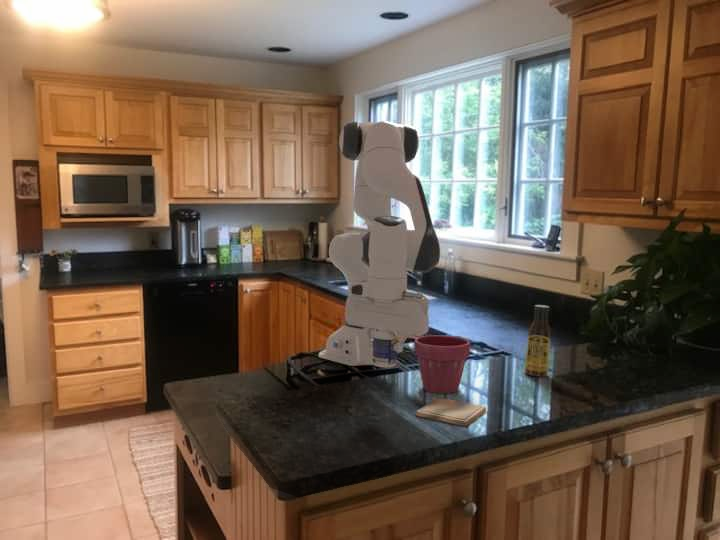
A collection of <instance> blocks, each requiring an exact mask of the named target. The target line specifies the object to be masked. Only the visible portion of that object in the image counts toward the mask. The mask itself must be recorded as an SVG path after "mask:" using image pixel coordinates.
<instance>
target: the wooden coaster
mask: <svg viewBox="0 0 720 540" xmlns="http://www.w3.org/2000/svg"><path fill="white" fill-rule="evenodd" d="M485 412H487V406H484V405H479V404H475V403H474V404H473V403H468V402H464V401H463V402H462V401H458V400H454V399H448V398H444V397H443V398H442V397H437V398H436V399H434V400H432V401H431V402H429V403H427V404H426V405H424V406H422V407H421V408H419V409H417V410H416V412H415V415H416V416H418V417H422V418H426V419H430V420H435V421H439V422H445V423H449V424H452V425H458V426H462V427H467V426H469V425H470V424H471V423H473V422H474V421H475V420H476V419H478V418H479V417H481V416H482V415H483V414H485Z"/></svg>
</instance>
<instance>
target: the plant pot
mask: <svg viewBox="0 0 720 540" xmlns="http://www.w3.org/2000/svg"><path fill="white" fill-rule="evenodd" d="M470 349H471V342H470V341H469V340H468V339H466V338H462V337H459V336H458V337H457V336H452V335H451V336H449V335H437V334H434V335H432V334H431V335H422V336H417V337H416V338H415V339H414V348H413V353H414V355H415V356H416V357H417V361H418V367H419V372H420V377H421V382H422V388H423V390H425V391H427V392H430V393H434V394H452V393H451V392H454V393H456V392H458V391H459V387H460V386H461V384H460V383H461V381H462V376H463V373H464V368H465V364H466V360H467V358H469V357H470V354H471V353H470V352H471V351H470ZM457 390H458V391H457Z"/></svg>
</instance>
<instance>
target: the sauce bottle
mask: <svg viewBox="0 0 720 540" xmlns="http://www.w3.org/2000/svg"><path fill="white" fill-rule="evenodd" d="M533 308H534V309H533V310H534V316H533V317H534V318H533V321H532V323H530V325H529V328H528V336H527V344H526V354H525V366H524V367H525V370H524V372H525V374H526V375H529V376H531V377H539V378H540V377H541V378H544V377H546V376H547V375H548V371H549V361H550V360H549V359H550V351H551V335H552V328H551V327H550V324H549V313H550V306H548V305H544V304H535V305H534V307H533Z"/></svg>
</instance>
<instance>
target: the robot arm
mask: <svg viewBox="0 0 720 540" xmlns="http://www.w3.org/2000/svg"><path fill="white" fill-rule="evenodd" d="M338 143H339V149H340V151H341V154H342V156H343V157H344V158H345V159H348V160H350V161H353V162H354V161H357V165H356V172H355V179H354V191H353V192H354V193H353V194H354V195H353V211H354V212H355V215H356V216H357V217H359V218H360V219H362V220H364V222H365V224H366V226H367V227H366V228H367V232H357V231H356V232H347V233H342V234H338V235H336V236H334V237H333V238H332V240H331V241H330V244H329V248H328V256H329V259H330V261H331V263H332V264H333V266H334V267H336V268H337V269H339V271H341V273H342V275H343V276H344V278H345V280H346V282H347V286H348V287H347V292H348V294H349V295H348V297H347V298H346V301H345V308H344V310H345V311H344V315H342V316H341V317H342V319H341V320H343V321H345V322H344V325H342V326H341V327H339V328H338V329H337V330H336V331H334V332H333V333H332V334H331V335H330V336H328V337H327V341H326V344H325V345H326V346H325V349H323V350H321V351H320V352H318V358H319V359H324V360H327V361H328V360H329V361H331V362H334V363H335V362H336V363H339V364H343V365H347V366H350V367H351V366H352V367H353V366H375V365H374V364H373V337H374V333H375V332H376V331H378V326H379V324H384V325H385V329H386V331H390V332H395V333H396V334H397V339H398V338H399V340H398V341H397V343H396V344H394V349H393V351H394V352H397V353H402V352H403V350H404V344H405V342H406V340H407V339H408V337H409V336H414V337H422V336H426V334H427V333H428V332H429V329H430V327H429V326H430V321H429V320H430V319H429V306H430V302H429V301H430V300H429V299H428V297H426V295H424V294H423V293H421V292H417V293H416V292H412V291H408V290H407V287H408V273H407V272H408V271H409V272H411V271H412V272H414V273H415V272H416V273H426V274H427V273H428V272H430V271H432V270H433V269H434V268H436V266H437V265H438V264H439V263H440V259H441V246H440V242H439V239H438V236H437V232H436V230H435V227H434V225H433V222H432V217H431V214H430V210H429V207H428V202H427V198H426V195H425V191H424V188H423V185H422V183H421V180H420V178H419V177H418V176H417V175H415V174H413V173H412V172H411V170H410V169H409V168H408V165H407V163H411V161H412V160H414V159H415V158H416V155H417V153H418V151H419V146H420V144H419V143H420V140H419V135H418V131H417V129H416V128H415V126H411V125H408V124H405V123H404V124H399V123H393V122H390V121H387V120H385V121H383V120H382V121H377V122H375V121H374V122H369V121H368V122H366V121H365V122H358V121H353V122H348V123H346V124H345V125H344V126H343V127H342V130H341V132H340V133H339V139H338ZM392 199H394V200H396V201H398V202H400V203H402V204H403V205H405V206H406V207H407V208H408V210H409V212H410V216H411V221H412V223H413V228H414V229H411V230H410V229H408V228H407V227H408V226H407V221H406V220H405V219H403V218H402V217H400V216H395V215H392Z"/></svg>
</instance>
